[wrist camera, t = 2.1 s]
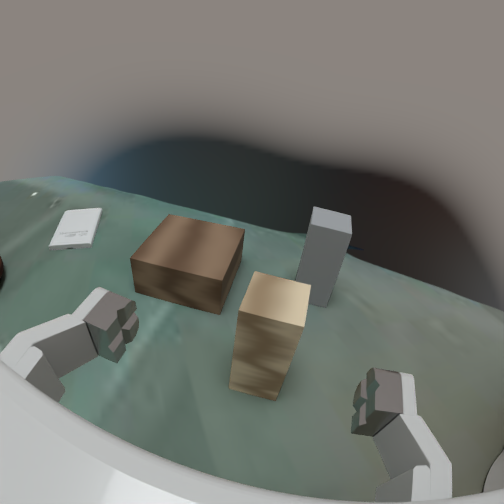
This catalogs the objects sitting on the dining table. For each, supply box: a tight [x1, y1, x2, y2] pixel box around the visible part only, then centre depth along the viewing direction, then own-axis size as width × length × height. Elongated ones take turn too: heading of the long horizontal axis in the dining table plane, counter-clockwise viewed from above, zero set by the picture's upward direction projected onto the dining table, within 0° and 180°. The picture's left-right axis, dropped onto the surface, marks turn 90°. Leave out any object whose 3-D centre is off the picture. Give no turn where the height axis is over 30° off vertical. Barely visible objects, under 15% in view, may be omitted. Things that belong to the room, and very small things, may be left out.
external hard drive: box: [49, 208, 102, 250], centre depth 49 cm, size 2×8×12 cm
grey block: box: [295, 207, 352, 308], centre depth 40 cm, size 5×5×12 cm
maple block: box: [229, 271, 311, 401], centre depth 28 cm, size 5×5×12 cm
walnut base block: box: [130, 214, 245, 315], centre depth 42 cm, size 12×12×6 cm
